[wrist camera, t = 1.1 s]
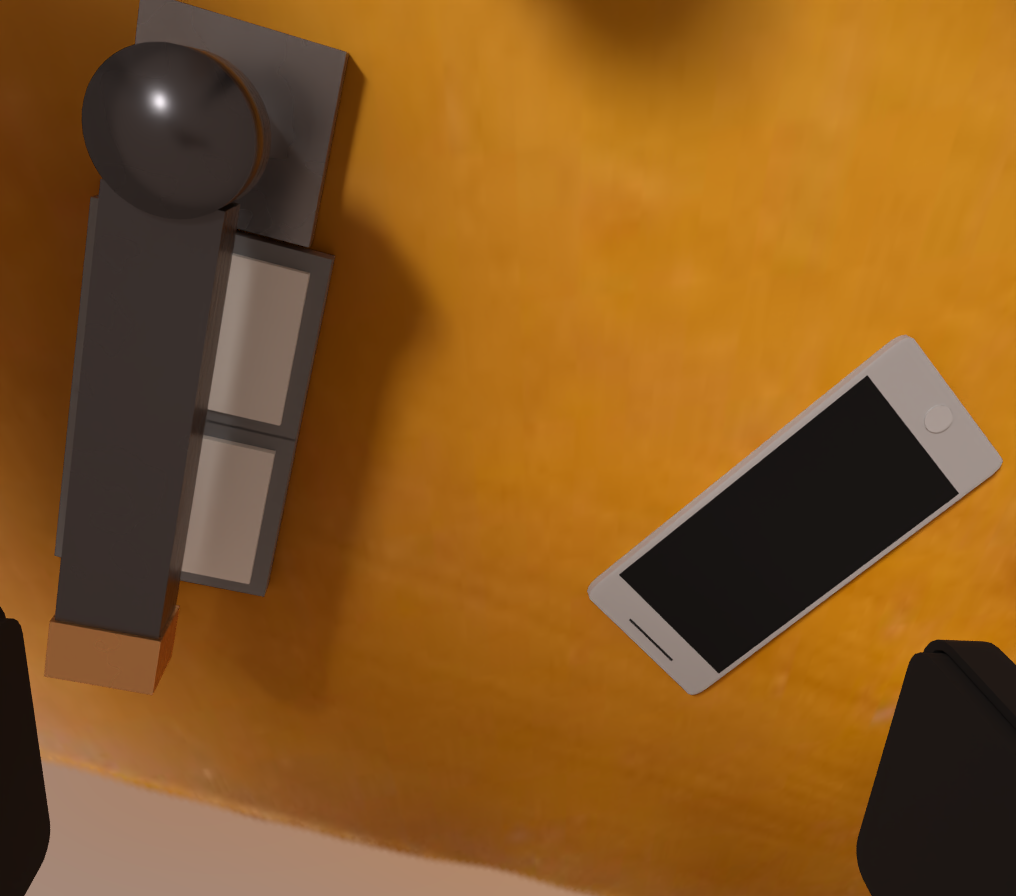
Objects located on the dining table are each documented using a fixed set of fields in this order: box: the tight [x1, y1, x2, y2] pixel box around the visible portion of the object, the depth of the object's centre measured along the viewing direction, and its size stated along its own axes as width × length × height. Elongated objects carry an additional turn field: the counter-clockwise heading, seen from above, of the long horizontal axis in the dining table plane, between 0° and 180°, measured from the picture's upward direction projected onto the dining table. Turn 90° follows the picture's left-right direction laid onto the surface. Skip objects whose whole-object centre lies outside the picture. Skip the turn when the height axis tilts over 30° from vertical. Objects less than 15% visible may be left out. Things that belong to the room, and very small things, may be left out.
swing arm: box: [44, 42, 271, 695], centre depth 24 cm, size 18×4×2 cm, turn 164°
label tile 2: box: [71, 195, 335, 442], centre depth 29 cm, size 8×7×1 cm
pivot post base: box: [135, 0, 349, 247], centre depth 25 cm, size 6×6×4 cm
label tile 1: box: [55, 389, 299, 597], centre depth 31 cm, size 8×7×1 cm
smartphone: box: [587, 335, 1003, 695], centre depth 34 cm, size 7×16×1 cm, turn 132°
